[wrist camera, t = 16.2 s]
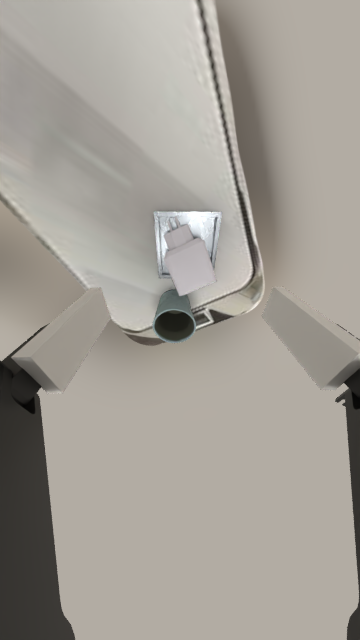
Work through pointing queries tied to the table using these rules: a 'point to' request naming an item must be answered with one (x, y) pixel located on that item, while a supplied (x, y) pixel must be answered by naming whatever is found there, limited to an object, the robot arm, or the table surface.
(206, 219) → the gray square tray
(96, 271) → the table surface
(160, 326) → the green cup
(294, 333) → the robot arm
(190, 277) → the charger
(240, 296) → the table surface
